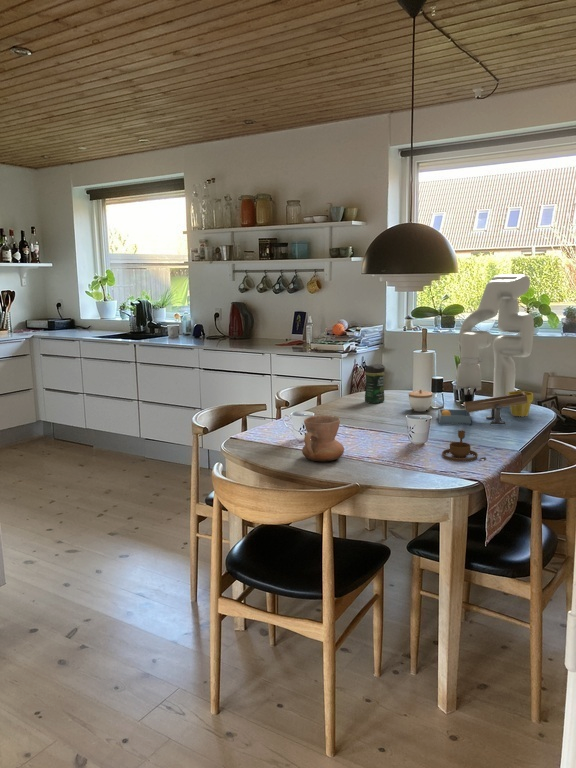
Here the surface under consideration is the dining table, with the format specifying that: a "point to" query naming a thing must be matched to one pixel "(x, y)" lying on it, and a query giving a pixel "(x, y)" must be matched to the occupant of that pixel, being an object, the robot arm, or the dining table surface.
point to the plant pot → (521, 408)
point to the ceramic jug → (322, 438)
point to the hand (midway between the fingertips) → (467, 403)
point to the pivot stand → (495, 415)
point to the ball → (446, 413)
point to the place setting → (460, 450)
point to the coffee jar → (374, 383)
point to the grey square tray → (454, 417)
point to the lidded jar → (420, 400)
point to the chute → (496, 402)
